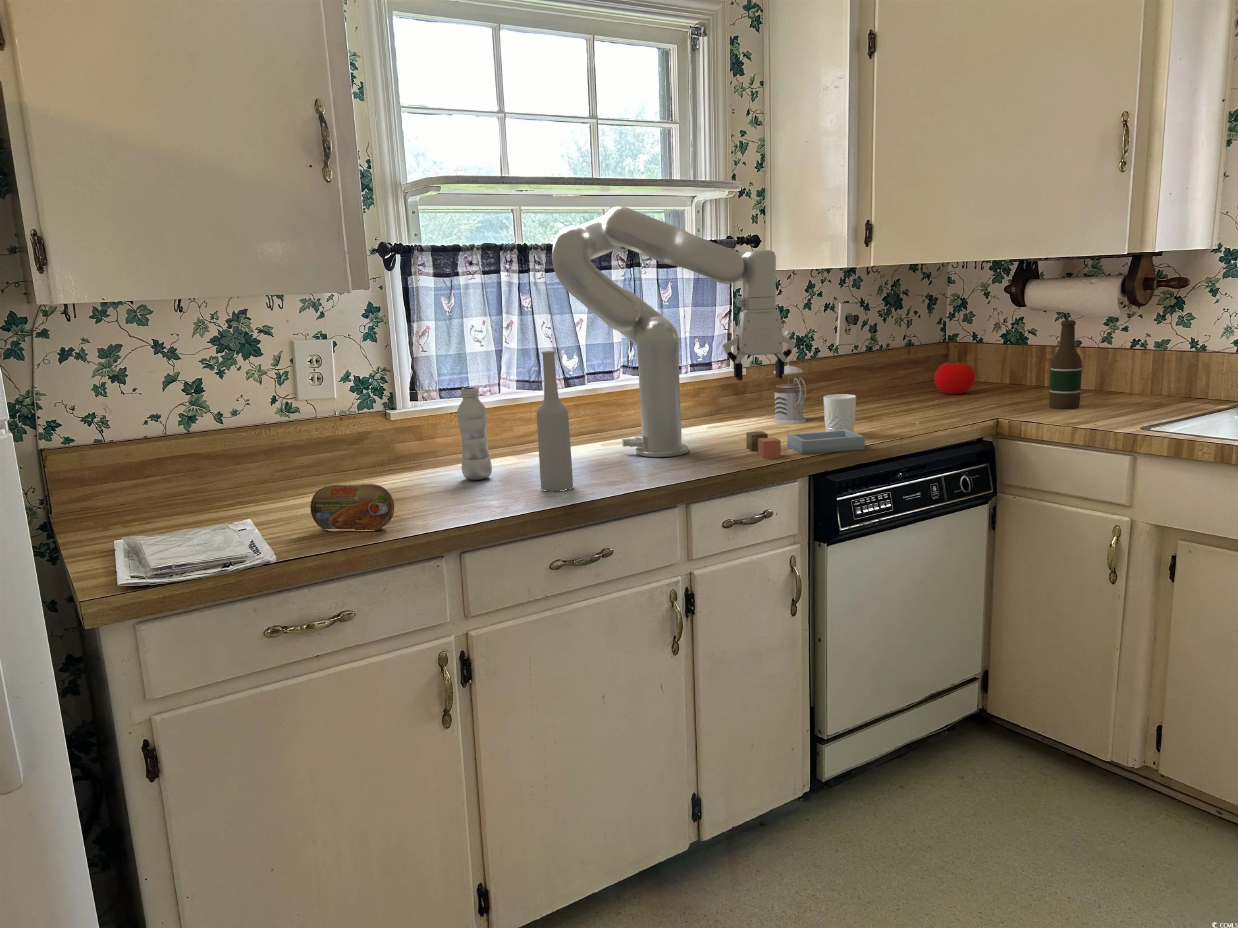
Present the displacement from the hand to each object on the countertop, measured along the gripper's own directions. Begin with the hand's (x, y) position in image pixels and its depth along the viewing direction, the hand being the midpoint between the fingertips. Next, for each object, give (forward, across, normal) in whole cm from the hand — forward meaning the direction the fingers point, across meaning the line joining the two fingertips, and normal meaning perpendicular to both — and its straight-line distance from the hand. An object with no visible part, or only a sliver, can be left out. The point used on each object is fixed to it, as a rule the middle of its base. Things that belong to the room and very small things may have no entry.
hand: (759, 379), depth 213 cm
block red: (+17, 0, -9) cm, 19 cm away
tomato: (+16, +84, +63) cm, 106 cm away
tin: (+18, -88, -44) cm, 100 cm away
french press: (+17, +20, +35) cm, 44 cm away
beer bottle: (+15, +95, +24) cm, 99 cm away
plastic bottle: (+18, -66, -9) cm, 69 cm away
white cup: (+16, +23, +8) cm, 30 cm away
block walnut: (+17, -1, 0) cm, 17 cm away
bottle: (+18, -50, -24) cm, 58 cm away
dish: (+16, +14, -5) cm, 22 cm away
